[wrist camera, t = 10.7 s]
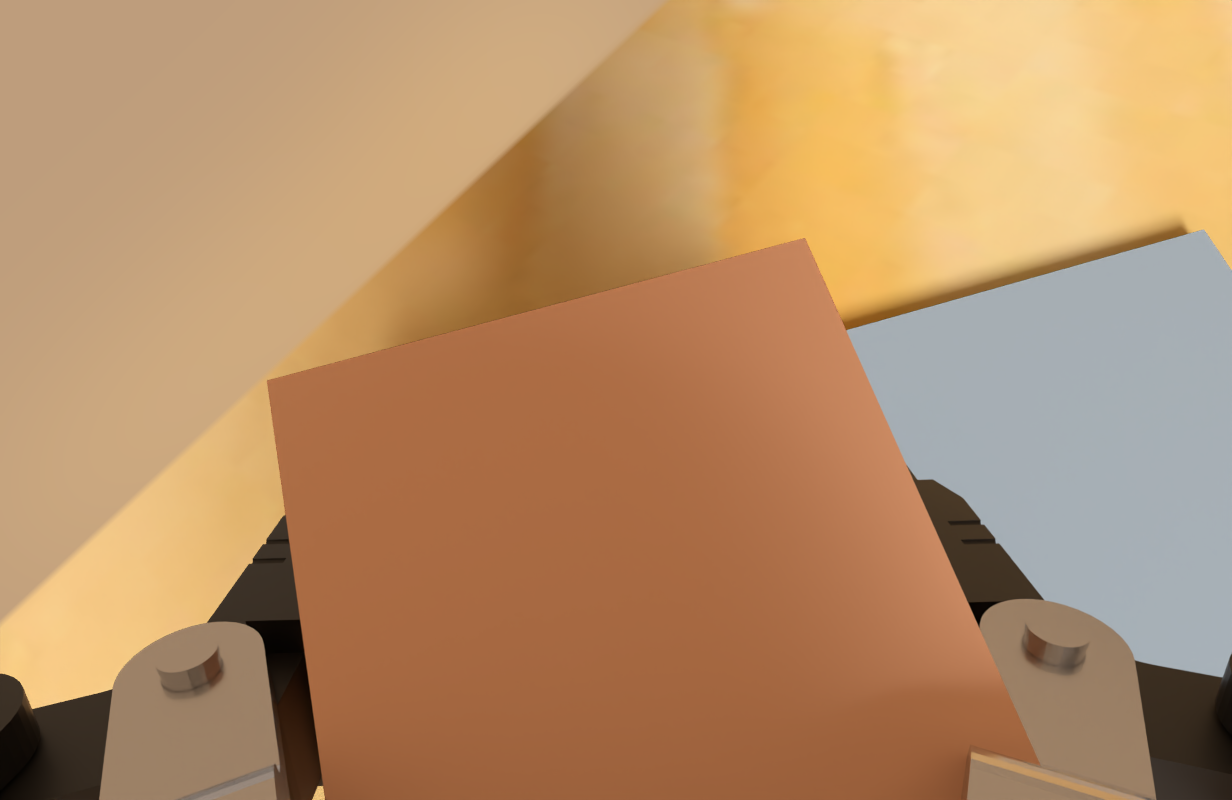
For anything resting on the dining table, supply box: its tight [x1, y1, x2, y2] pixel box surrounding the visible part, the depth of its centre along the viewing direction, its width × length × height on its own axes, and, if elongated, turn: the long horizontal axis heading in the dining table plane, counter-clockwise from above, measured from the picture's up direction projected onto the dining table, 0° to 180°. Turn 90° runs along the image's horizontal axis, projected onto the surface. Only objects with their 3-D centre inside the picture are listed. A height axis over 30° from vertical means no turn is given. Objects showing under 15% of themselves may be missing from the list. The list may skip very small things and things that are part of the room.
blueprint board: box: [846, 230, 1232, 677], centre depth 20 cm, size 26×14×1 cm, turn 107°
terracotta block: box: [267, 238, 1041, 800], centre depth 10 cm, size 5×5×9 cm
